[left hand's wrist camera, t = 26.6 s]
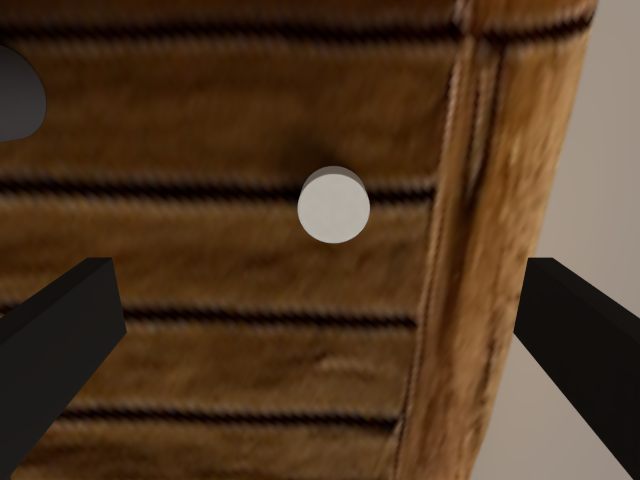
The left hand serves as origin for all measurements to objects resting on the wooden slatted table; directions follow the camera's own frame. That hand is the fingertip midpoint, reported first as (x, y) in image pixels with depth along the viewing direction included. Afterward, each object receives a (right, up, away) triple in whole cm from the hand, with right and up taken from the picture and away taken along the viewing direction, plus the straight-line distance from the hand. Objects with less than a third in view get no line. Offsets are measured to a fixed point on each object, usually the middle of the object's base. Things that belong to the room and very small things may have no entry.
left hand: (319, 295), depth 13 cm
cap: (+1, +4, +9) cm, 9 cm away
